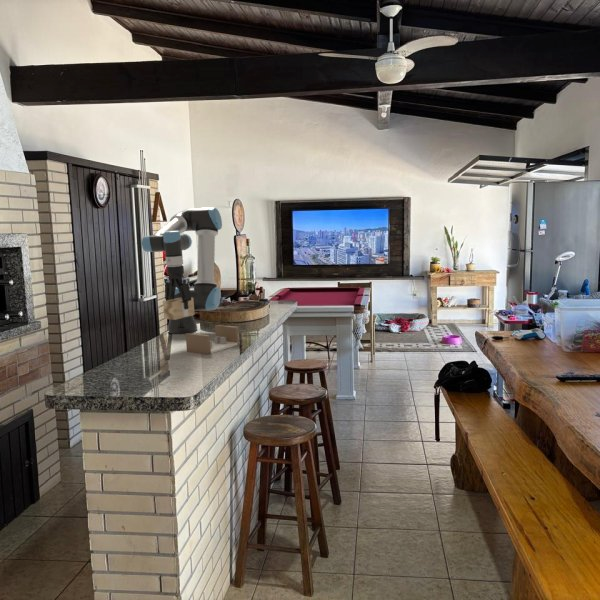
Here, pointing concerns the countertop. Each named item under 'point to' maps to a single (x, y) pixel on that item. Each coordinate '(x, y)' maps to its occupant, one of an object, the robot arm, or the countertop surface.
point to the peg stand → (222, 340)
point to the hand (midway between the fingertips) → (179, 315)
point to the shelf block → (176, 308)
